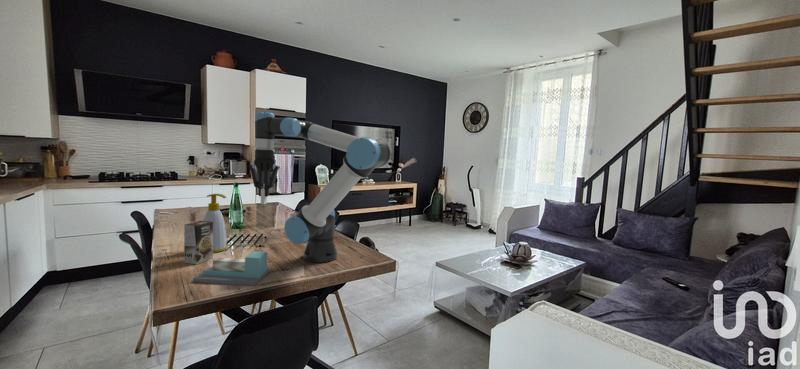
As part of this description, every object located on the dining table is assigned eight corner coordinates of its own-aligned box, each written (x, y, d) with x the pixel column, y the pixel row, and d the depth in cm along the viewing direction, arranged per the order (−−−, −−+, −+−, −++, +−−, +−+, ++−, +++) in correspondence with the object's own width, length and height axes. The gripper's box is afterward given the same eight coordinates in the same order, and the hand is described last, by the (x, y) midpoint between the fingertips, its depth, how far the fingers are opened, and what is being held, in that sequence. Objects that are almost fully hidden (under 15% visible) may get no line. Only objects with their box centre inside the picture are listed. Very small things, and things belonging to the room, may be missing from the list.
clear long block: (257, 272, 129) (257, 259, 129) (253, 275, 126) (253, 262, 125) (217, 270, 129) (217, 257, 129) (212, 273, 126) (212, 260, 125)
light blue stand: (270, 271, 135) (270, 249, 134) (254, 285, 121) (255, 261, 120) (214, 268, 135) (214, 246, 134) (193, 282, 121) (192, 257, 120)
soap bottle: (216, 254, 151) (217, 196, 149) (193, 252, 153) (193, 194, 151) (233, 247, 162) (233, 193, 160) (211, 245, 164) (211, 191, 162)
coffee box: (197, 264, 138) (197, 225, 136) (183, 263, 139) (183, 224, 137) (213, 258, 147) (213, 221, 145) (200, 256, 148) (200, 220, 146)
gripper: (282, 150, 149) (281, 203, 151) (253, 148, 149) (252, 201, 151) (276, 150, 141) (275, 206, 144) (245, 148, 141) (244, 204, 144)
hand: (263, 203), depth 147 cm, fingers closed
